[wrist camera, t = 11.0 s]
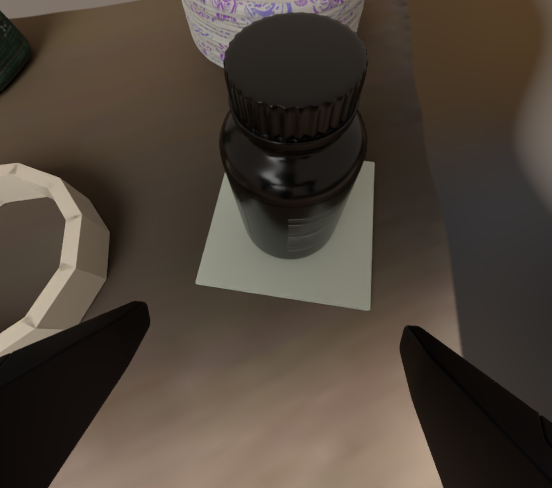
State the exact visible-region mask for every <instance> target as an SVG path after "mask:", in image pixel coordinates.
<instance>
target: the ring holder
mask: <svg viewBox="0 0 552 488" xmlns="http://www.w3.org/2000/svg"><path fill="white" fill-rule="evenodd" d="M42 197H49V198H52V199H54V200H55V202H56V203H57V205H58V207H59V209H60V210H61V212H62V214H63V216H64V217H65V219H66V225H65V232H64V239H63V246H62V254H61V261H60V267H59V268H58V270H57V271H56V273H55V274H54V276H53V277H52V279H51V280H50V281H49V283H48V284H47V286H46V287H45V289H44V290H43V292H42V293H41V294H40V296H39V297H38V299H37V300H36V302H35V303H34V305H33V306H32V307H31V309H30V310H29V312H28V313H27V315H26V316H25V317H24V318H23V319H21V320H20V321H18V322H17V323H15V324H14V325H12V326H11V327H9V328H8V329H6V330H5V331H3V332H2V333H0V357H1V356H3V355H6V354H8V353H12V352H13V351H15V350H18V349H20V348H23V347H25V346H27V345H30V344H32V343H35V342H37V341H39V340H42V339H44V338H47V337H49V336H51V335H54V334H56V333H59V332H61V331H63V330H66V329H68V328H71V327H73V326H75V325H78V324H79V323H80V321H81V320H82V318H83V316H84V315H85V313H86V312H87V310H88V308H89V307H90V305H91V303H92V302H93V300H94V299H95V297H96V295H97V294H98V292H99V291H100V289H101V287H102V286H103V284H104V282H105V281H106V278H107V265H108V251H109V238H110V232H109V230H108V228H107V227H106V225H105V224H104V222H103V221H102V219H101V217H100V216H99V214H98V213H97V211H96V209H95V208H94V206H93V205H92V203H91V201H90V200H89V199H88V198H87V197H85V196H84V195H83V194H81V193H80V192H78V191H77V190H76V189H74V188H73V187H72V186H70V185H69V184H68V183H66V182H65V181H64V180H62V179H61V178H59V177H56V176H53V175H50V174H48V173H45V172H42V171H39V170H36V169H34V168H31V167H28V166H25V165H22V164H20V163H13V164H6V165H0V206H2V205H3V204H5V203H7V202H14V201H21V200H28V199H35V198H42Z"/></svg>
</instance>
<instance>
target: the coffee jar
mask: <svg viewBox="0 0 552 488" xmlns="http://www.w3.org/2000/svg"><path fill="white" fill-rule="evenodd" d="M30 54H31V48H30V45H29V42H28V41H27V39H26V38H25V37H24V36H23V34H22V33H21V32H20V31H19V30H18V29H17V28H16V27H15V26H14V25H13V23H12V22H11V21H10V20H9V19H8V18H7V17H6V16H5V15H4V14H3V13H2V12H1V11H0V91H1V90H2V89H3V88H4V87H5V86H7V85H8V83H9V82H10V81H11V80H12V79H13V78H14V77H15V75H16V74H17V73H18V72H19V71H20V70H21V68H22V67H23V66H24V64H25V63H26V62H27V60H28V58H29V57H30Z"/></svg>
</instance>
